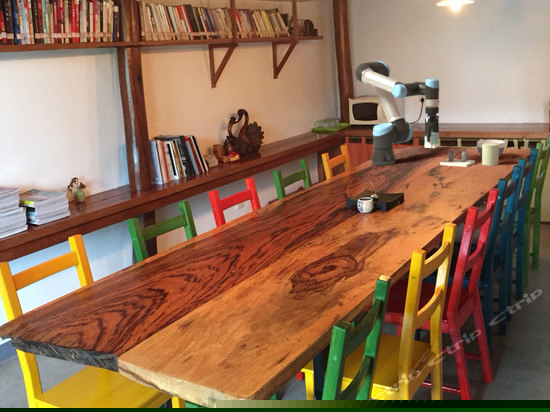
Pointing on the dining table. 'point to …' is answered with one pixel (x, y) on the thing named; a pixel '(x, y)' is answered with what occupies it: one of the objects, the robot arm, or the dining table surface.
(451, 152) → the pinboard
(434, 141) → the sleeve
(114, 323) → the dining table surface
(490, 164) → the can
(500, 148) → the bowl
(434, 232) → the dining table surface
